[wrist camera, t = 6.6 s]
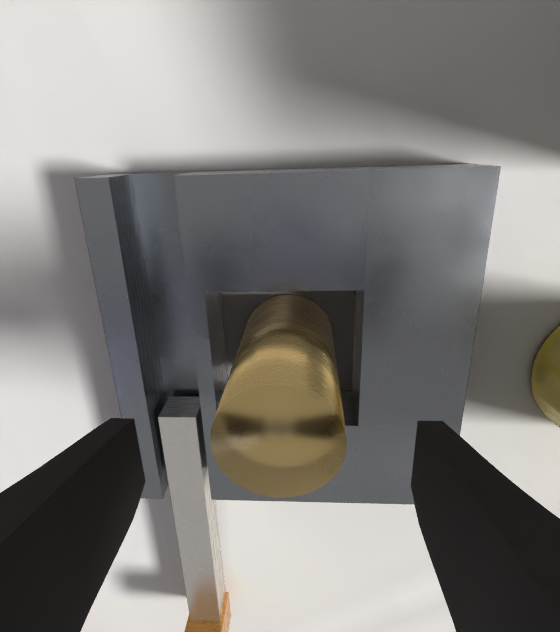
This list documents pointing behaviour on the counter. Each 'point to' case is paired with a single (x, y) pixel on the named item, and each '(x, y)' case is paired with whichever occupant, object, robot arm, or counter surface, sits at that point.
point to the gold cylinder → (282, 403)
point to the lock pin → (194, 515)
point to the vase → (548, 377)
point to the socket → (295, 275)
